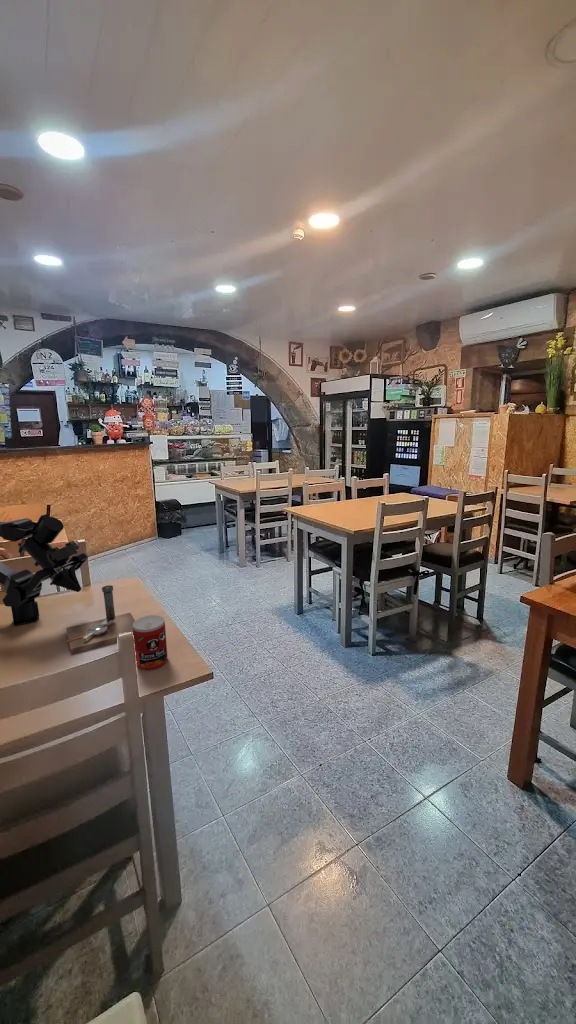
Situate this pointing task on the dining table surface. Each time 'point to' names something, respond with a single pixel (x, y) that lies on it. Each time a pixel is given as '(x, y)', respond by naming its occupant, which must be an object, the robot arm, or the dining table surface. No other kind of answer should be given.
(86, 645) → the stand
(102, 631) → the crank handle
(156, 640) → the canned food
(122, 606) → the dining table surface
